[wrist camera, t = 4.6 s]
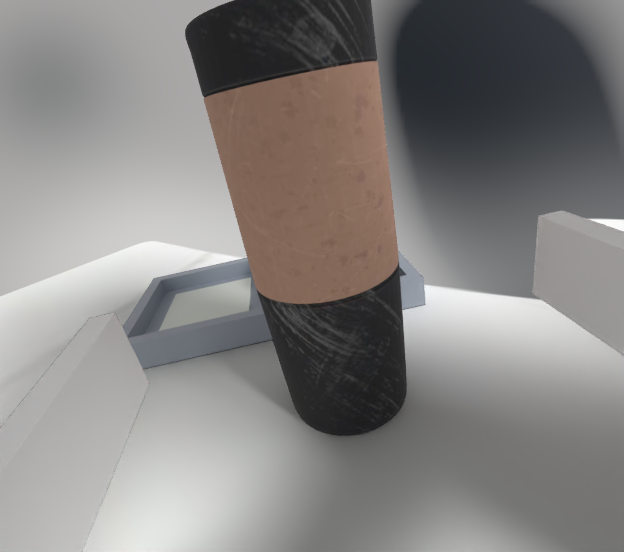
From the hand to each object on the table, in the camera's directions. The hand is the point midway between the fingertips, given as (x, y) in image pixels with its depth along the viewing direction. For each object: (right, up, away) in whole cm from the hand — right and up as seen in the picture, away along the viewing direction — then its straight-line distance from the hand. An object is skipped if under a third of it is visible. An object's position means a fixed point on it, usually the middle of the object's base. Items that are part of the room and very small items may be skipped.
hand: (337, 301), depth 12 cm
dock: (-4, -2, +24) cm, 25 cm away
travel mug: (+2, -7, +12) cm, 14 cm away
